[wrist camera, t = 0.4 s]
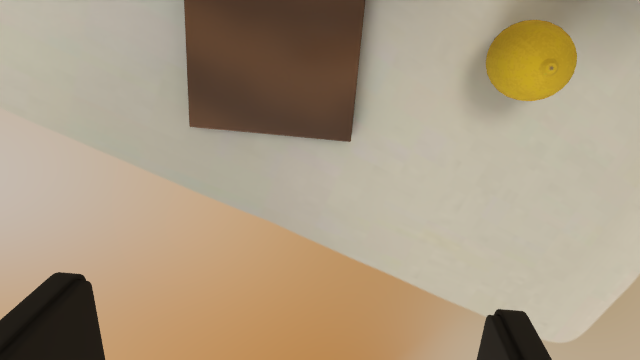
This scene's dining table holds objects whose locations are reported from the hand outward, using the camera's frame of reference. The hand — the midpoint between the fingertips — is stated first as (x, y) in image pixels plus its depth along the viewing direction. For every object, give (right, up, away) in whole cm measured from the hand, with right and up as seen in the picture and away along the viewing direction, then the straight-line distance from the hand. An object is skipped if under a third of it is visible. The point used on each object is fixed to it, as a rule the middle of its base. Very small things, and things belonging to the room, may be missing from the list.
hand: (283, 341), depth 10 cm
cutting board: (-3, +18, +24) cm, 31 cm away
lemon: (+16, +14, +25) cm, 33 cm away
